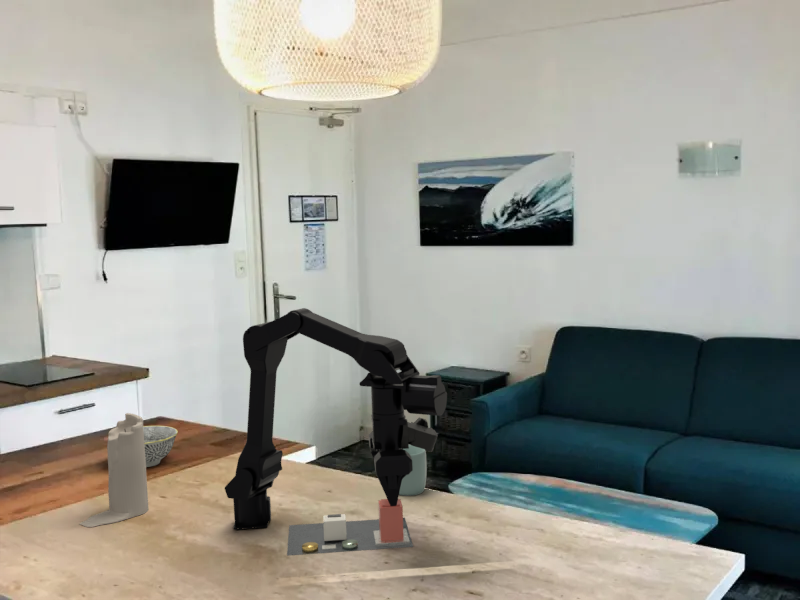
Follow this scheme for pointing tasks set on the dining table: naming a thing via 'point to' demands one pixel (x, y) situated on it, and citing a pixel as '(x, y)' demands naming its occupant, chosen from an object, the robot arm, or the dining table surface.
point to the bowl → (158, 443)
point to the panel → (358, 539)
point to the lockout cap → (390, 520)
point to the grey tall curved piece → (125, 473)
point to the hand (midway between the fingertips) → (391, 496)
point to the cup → (415, 473)
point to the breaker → (334, 527)
